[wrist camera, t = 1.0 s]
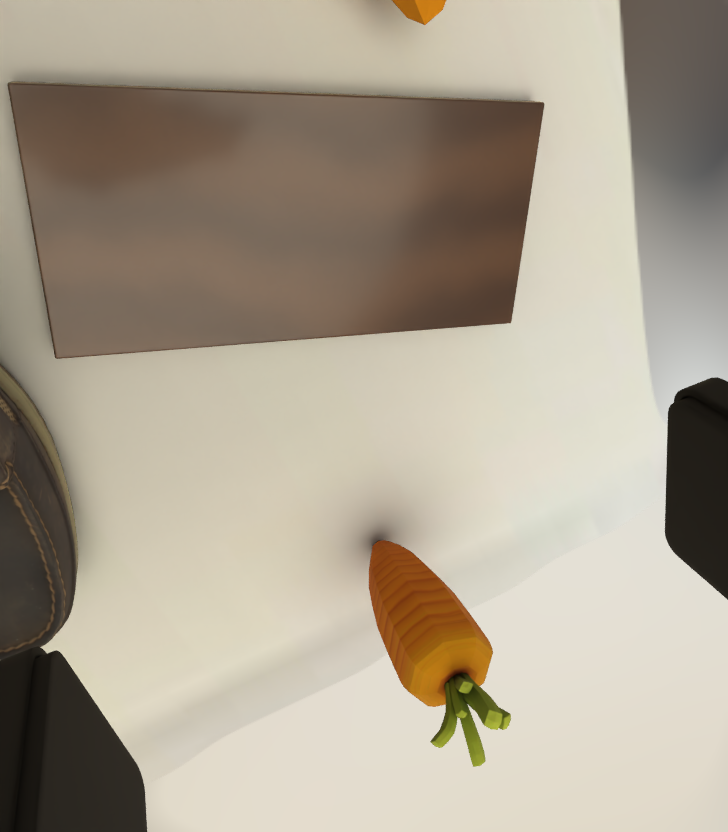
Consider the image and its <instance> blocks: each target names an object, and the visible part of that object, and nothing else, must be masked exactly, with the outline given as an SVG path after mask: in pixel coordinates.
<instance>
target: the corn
mask: <svg viewBox="0 0 728 832" xmlns="http://www.w3.org/2000/svg"><path fill="white" fill-rule="evenodd" d="M392 1H393V2H394V3H395V4H396V6H397V7H398V8H399V9H400V10H401V11H402V12H403V13H404V15H405V16H406V17H407V18H409V19H412V20H414V21H417V22H419V23H421V24H424V25H426V24H427V23H428V22H429V21H430V20H431V19H432V18H434V17H435V16H436V15H437V14H438V13H439V12H441V11H442V10H443V7H444V5H445V2H446V0H392Z"/></svg>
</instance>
